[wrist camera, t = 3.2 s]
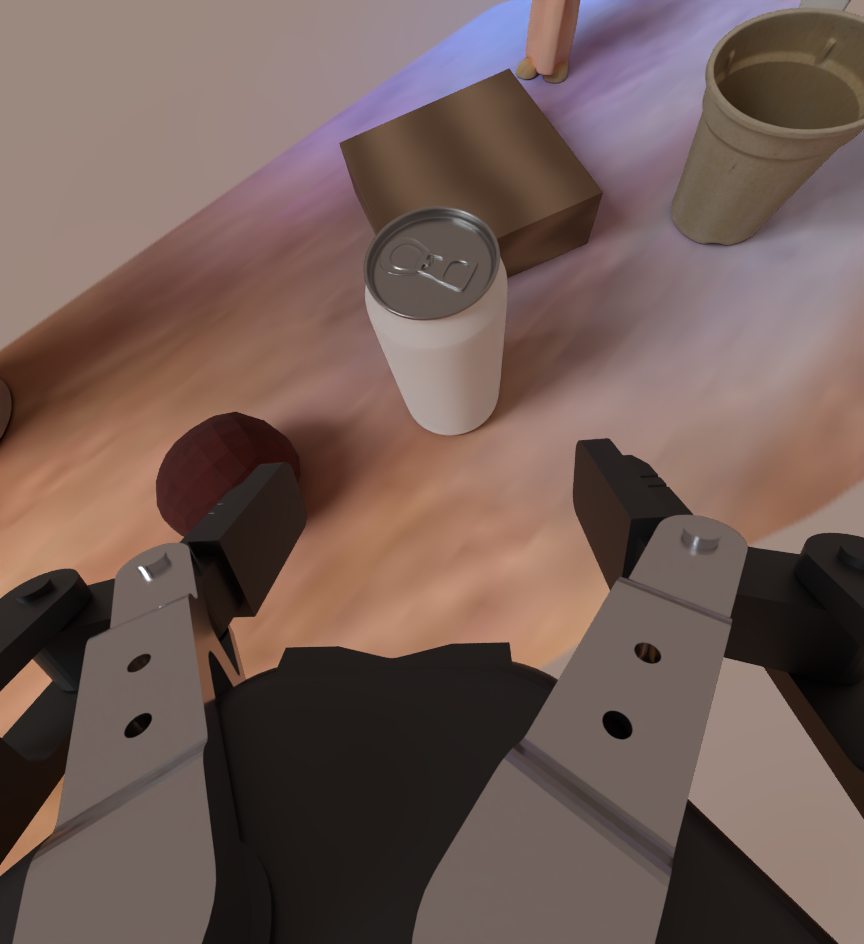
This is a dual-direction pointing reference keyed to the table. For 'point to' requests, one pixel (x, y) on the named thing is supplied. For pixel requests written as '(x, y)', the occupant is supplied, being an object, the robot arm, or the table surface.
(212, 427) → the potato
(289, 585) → the table surface
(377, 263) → the can
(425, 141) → the walnut block
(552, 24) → the grandmother figurine
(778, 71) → the flower pot
